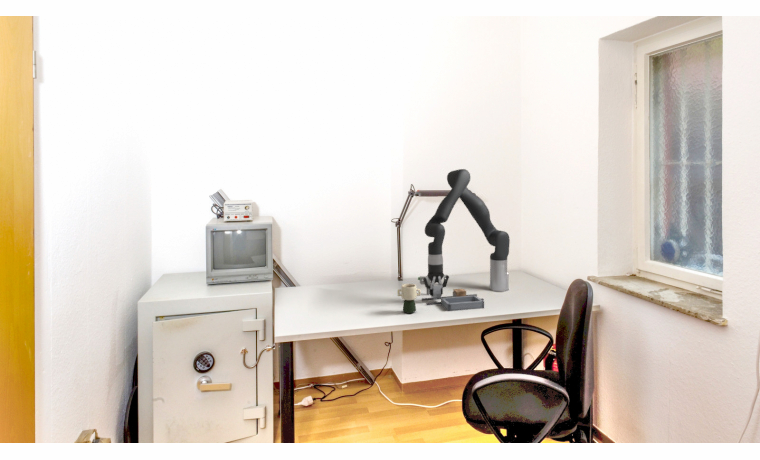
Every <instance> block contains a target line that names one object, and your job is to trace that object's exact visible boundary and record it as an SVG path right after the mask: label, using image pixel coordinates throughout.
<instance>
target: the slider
mask: <svg viewBox="0 0 760 460" xmlns="http://www.w3.org/2000/svg"><path fill="white" fill-rule="evenodd" d="M466 295H467V290H465V288H464V289H463V288H456V289H453V291H452V296H453V297H461V296H466Z"/></svg>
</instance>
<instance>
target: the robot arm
mask: <svg viewBox="0 0 760 460" xmlns="http://www.w3.org/2000/svg"><path fill="white" fill-rule="evenodd" d="M446 180H447V183H448V186H449V187H450V188H451V189H450V190H449V192H448V194H447V195H445V197H443V199H442V200H441V201H440V203H439V204H438V207H437V209H436V211H435V213H434V215H432V217H430V219H429V220H428V222H427V223H426V224H425V226H424V234H425V236H427V237H428V238H433V241H431V242H429V243H428V245H427V251H428V252H427V255H428V256H427V275H426V276H425V277H422V278H423V281H424V284H423V285H424V286H426V287H425V288H428V289H429V296H433V285H434V283H435V284H440V285H441V297H443V294H444V290H443V289H444V288H446V287H447V285H448V282H449V279H450V276H449V275H448V274H444V257H443V244H444V240H445V235H446V229H445V226H444V225H443V223H446V222H447V221H448V219H449V217H450V215H451V213H452V211H453V209H454V207H455V206H456V203H457V202H458V200H459V199H460V200H461V202H462V203H463V205H464V206H465V207H466V209H467V210H468V212H469V214H470V215H471V217H472V219H473V220H474V221H475V223H476V224H477V225H478V227H479V228H480V230H481V231H482V234H483V235H484V237H485V239H486V241H487V242H488V244H489V245H490V246H492V247H494V251H493V252H492V253H490V256H489V290H490V291H493V292H506V291H510V290H509V288H510V287H509V284H510V283H509V280H510V276H509V275H510V274H509V272H508V256H509V254H510V243H511V242H510V241H511V240H510V235H509V233H508V232H507V231H505V230H504V231H503V230H498V229H497V228H496V227H495V226H494V224H493V222H492V220H491V213H490V210H489V208H488V206H487V205H486V203H485V202H484V200H483V199H481V198H480V197H479V196H478V195H476V194H475V193H474V192H473V191H471V190H470V189H469V187H468V185H469V183H470V181H471V173H470V172H469V170H467V169H466V168H463V169H462V168H461V169H460V168H459V169H455V170H451V171H450V172H448V173H447V176H446ZM428 278H429V279H430V285H428V283H427V280H428ZM442 280H443V281H442Z"/></svg>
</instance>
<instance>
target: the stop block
mask: <svg viewBox="0 0 760 460" xmlns="http://www.w3.org/2000/svg"><path fill="white" fill-rule="evenodd" d="M430 296H431V295H430ZM441 297H442V296H441V285H440V284H438V283H435V284H434V285H433V296H431V297H430V298H433V299H437V300H441Z"/></svg>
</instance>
